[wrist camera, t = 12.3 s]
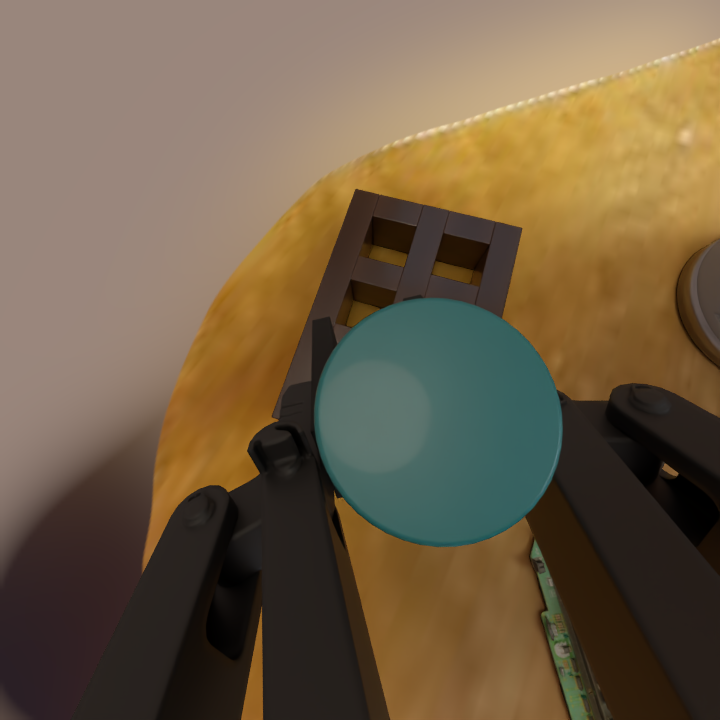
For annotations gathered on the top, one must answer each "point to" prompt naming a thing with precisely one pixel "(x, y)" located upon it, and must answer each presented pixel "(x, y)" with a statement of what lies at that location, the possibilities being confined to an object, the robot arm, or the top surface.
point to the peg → (438, 422)
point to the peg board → (406, 265)
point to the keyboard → (568, 651)
